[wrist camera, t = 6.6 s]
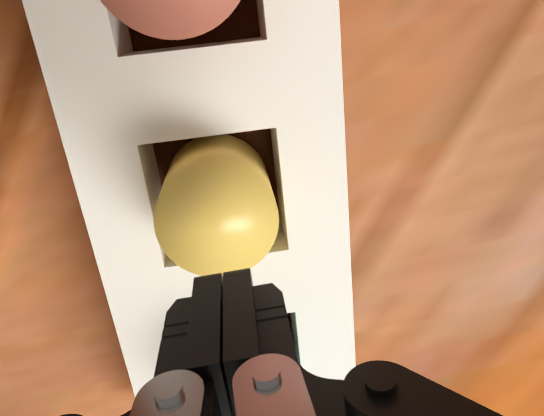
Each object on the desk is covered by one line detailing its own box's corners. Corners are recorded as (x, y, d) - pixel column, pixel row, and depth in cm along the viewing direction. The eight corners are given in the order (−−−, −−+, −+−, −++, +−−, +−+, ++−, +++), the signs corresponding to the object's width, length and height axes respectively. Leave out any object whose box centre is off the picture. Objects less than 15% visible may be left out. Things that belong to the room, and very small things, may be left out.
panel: (310, -171, 16) (329, -212, 13) (342, 372, 25) (357, 416, 22) (15, -144, 15) (-30, -180, 13) (158, 401, 25) (150, 450, 22)
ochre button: (261, 127, 19) (272, 155, 15) (272, 221, 20) (284, 268, 17) (158, 140, 19) (141, 172, 15) (177, 234, 20) (166, 285, 16)
